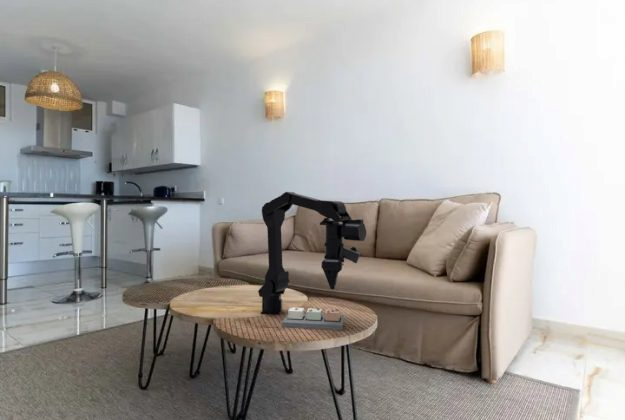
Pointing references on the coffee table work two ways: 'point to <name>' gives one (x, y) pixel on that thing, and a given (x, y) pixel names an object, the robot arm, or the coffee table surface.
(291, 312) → the tile one
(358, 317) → the coffee table surface
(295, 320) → the board
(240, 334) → the coffee table surface
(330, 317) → the tile three
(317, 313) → the tile two
